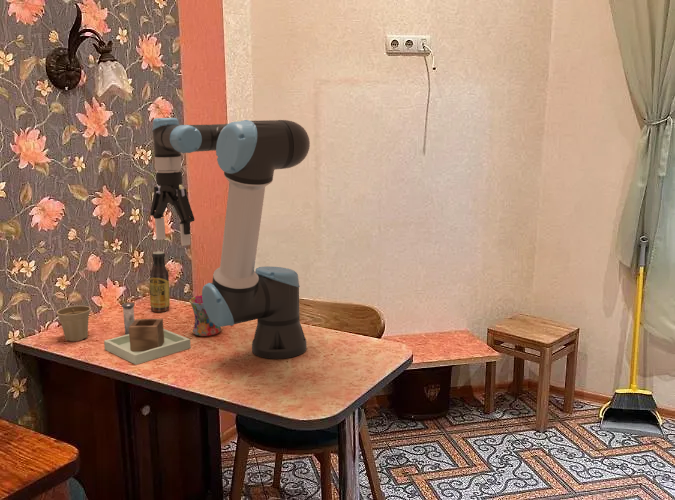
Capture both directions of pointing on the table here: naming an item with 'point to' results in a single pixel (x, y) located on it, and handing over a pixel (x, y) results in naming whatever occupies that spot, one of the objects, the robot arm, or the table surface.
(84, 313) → the flower pot
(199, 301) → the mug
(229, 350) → the table surface
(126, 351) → the tray
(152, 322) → the collar
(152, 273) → the sauce bottle
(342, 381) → the table surface
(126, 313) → the grey salt shaker
